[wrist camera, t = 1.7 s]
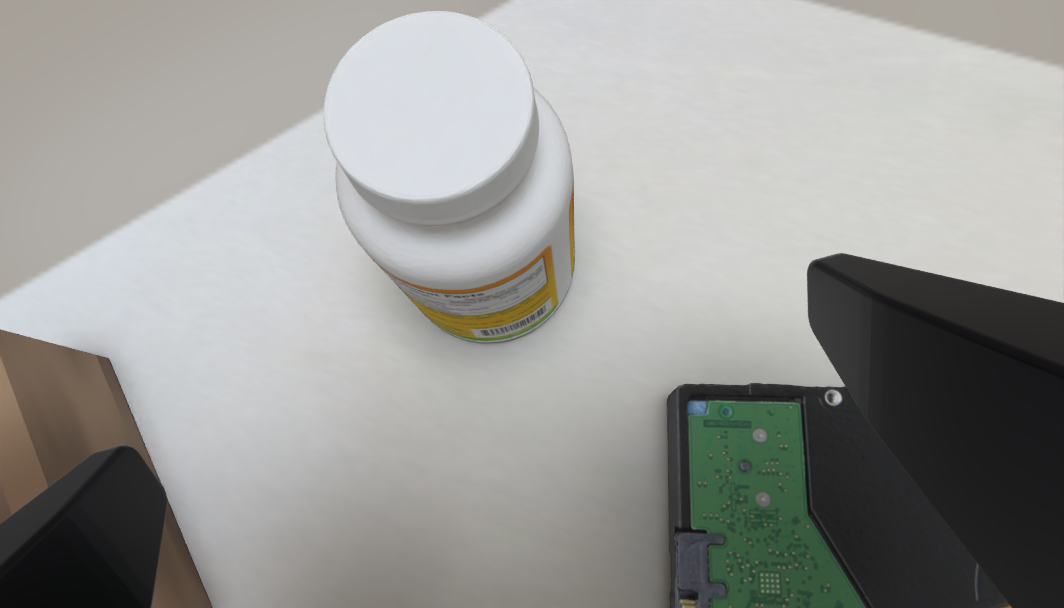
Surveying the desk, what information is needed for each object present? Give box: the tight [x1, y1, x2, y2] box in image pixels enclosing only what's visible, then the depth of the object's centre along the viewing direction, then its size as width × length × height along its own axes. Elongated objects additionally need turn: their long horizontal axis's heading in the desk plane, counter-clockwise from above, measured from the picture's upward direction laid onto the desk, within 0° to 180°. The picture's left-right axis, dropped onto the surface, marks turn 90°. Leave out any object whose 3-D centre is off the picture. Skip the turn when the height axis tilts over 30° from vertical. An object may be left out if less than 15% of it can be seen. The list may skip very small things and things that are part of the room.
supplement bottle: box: [323, 11, 575, 342], centre depth 17 cm, size 5×5×10 cm
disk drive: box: [667, 383, 1012, 608], centre depth 18 cm, size 10×3×15 cm
